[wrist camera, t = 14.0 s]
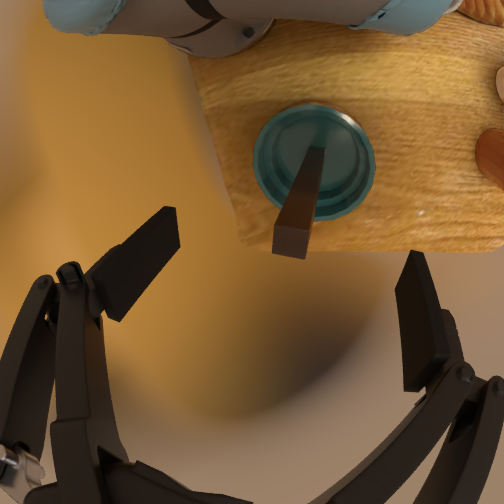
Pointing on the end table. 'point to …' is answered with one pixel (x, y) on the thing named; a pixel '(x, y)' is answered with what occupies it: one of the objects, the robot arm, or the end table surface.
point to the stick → (299, 207)
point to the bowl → (336, 157)
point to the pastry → (484, 11)
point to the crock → (491, 156)
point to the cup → (500, 83)
